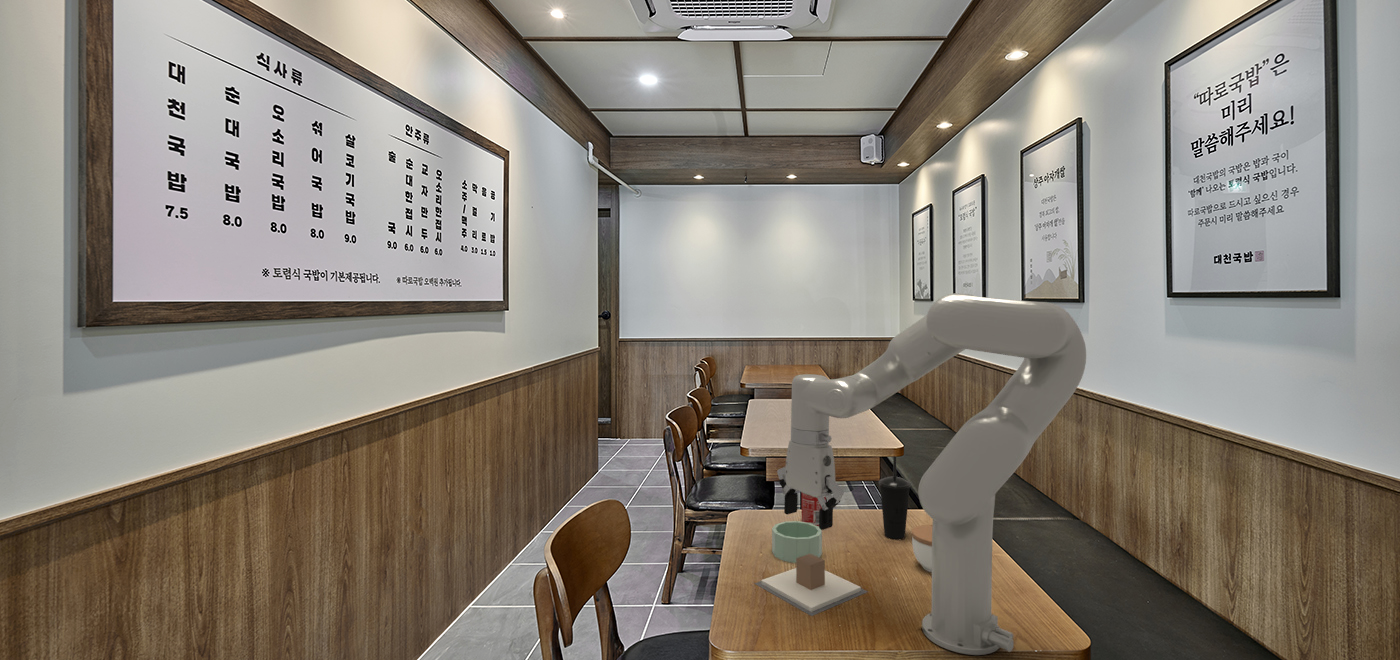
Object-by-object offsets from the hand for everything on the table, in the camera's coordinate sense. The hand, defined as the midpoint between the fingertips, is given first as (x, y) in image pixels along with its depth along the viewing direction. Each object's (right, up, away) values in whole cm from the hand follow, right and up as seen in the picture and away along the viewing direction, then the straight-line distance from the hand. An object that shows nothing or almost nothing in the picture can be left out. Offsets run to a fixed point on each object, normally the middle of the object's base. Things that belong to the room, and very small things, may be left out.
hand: (807, 520), depth 119 cm
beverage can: (+8, -13, +36) cm, 39 cm away
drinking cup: (+27, -13, +29) cm, 41 cm away
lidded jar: (+30, -14, +10) cm, 35 cm away
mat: (+1, -14, 0) cm, 14 cm away
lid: (+1, -14, 0) cm, 14 cm away
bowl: (+1, -14, +17) cm, 22 cm away
